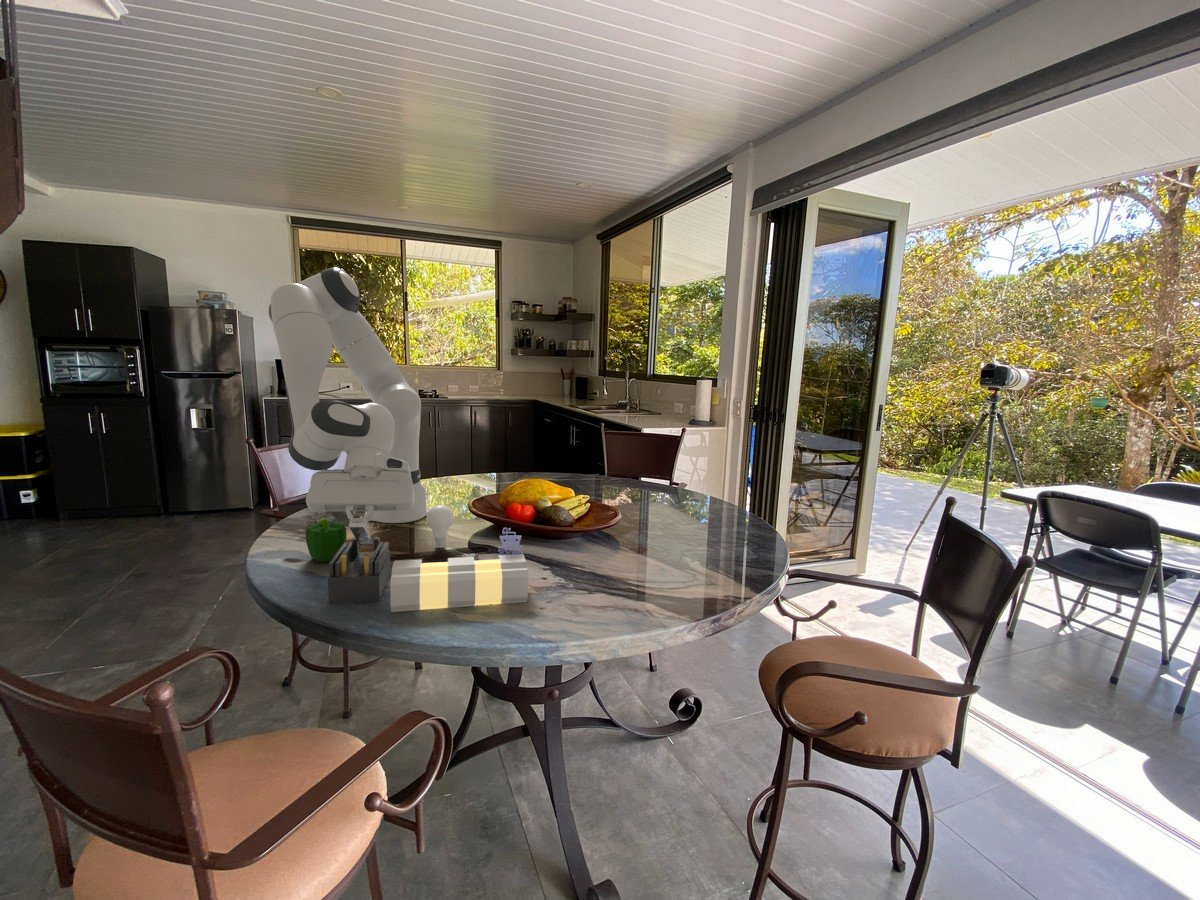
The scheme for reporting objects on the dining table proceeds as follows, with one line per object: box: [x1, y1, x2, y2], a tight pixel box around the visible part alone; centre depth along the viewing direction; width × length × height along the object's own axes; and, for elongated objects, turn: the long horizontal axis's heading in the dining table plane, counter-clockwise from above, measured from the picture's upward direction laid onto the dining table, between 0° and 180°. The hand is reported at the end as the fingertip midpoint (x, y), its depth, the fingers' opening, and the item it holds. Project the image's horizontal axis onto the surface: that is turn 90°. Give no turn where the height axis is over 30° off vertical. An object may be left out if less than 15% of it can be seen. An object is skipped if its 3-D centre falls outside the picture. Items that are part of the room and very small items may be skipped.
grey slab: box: [348, 523, 374, 546], centre depth 106 cm, size 12×2×1 cm
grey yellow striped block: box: [389, 527, 529, 613], centre depth 103 cm, size 25×10×13 cm, turn 106°
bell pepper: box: [304, 517, 347, 563], centre depth 120 cm, size 8×8×10 cm
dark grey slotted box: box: [327, 536, 391, 603], centre depth 106 cm, size 13×9×8 cm
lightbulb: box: [426, 504, 454, 550], centre depth 130 cm, size 6×6×11 cm
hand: (357, 528), depth 104 cm, fingers closed, pressing on grey slab
